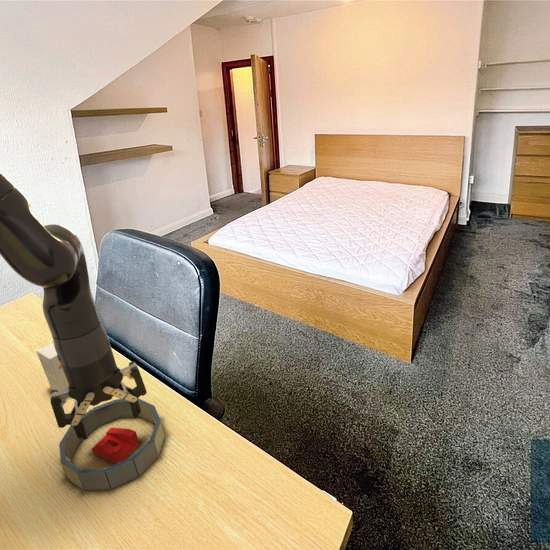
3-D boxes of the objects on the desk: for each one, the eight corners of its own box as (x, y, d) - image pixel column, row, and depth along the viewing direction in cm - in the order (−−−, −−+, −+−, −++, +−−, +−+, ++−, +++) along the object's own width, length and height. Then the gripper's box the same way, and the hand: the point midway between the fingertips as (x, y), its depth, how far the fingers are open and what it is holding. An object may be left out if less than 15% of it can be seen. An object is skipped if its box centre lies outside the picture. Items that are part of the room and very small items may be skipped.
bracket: (139, 443, 74) (135, 431, 73) (120, 464, 71) (116, 452, 69) (113, 433, 77) (109, 421, 76) (93, 453, 73) (88, 441, 72)
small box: (83, 369, 95) (71, 331, 91) (97, 377, 92) (85, 338, 88) (50, 389, 90) (35, 350, 85) (64, 399, 87) (49, 358, 82)
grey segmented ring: (70, 508, 64) (63, 491, 62) (63, 437, 77) (57, 421, 75) (174, 460, 71) (170, 443, 69) (151, 402, 84) (147, 387, 82)
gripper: (126, 325, 70) (146, 396, 78) (34, 354, 65) (65, 429, 72) (135, 346, 64) (156, 422, 72) (35, 381, 59) (68, 459, 66)
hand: (110, 425), depth 72 cm, fingers open, 8 cm apart
